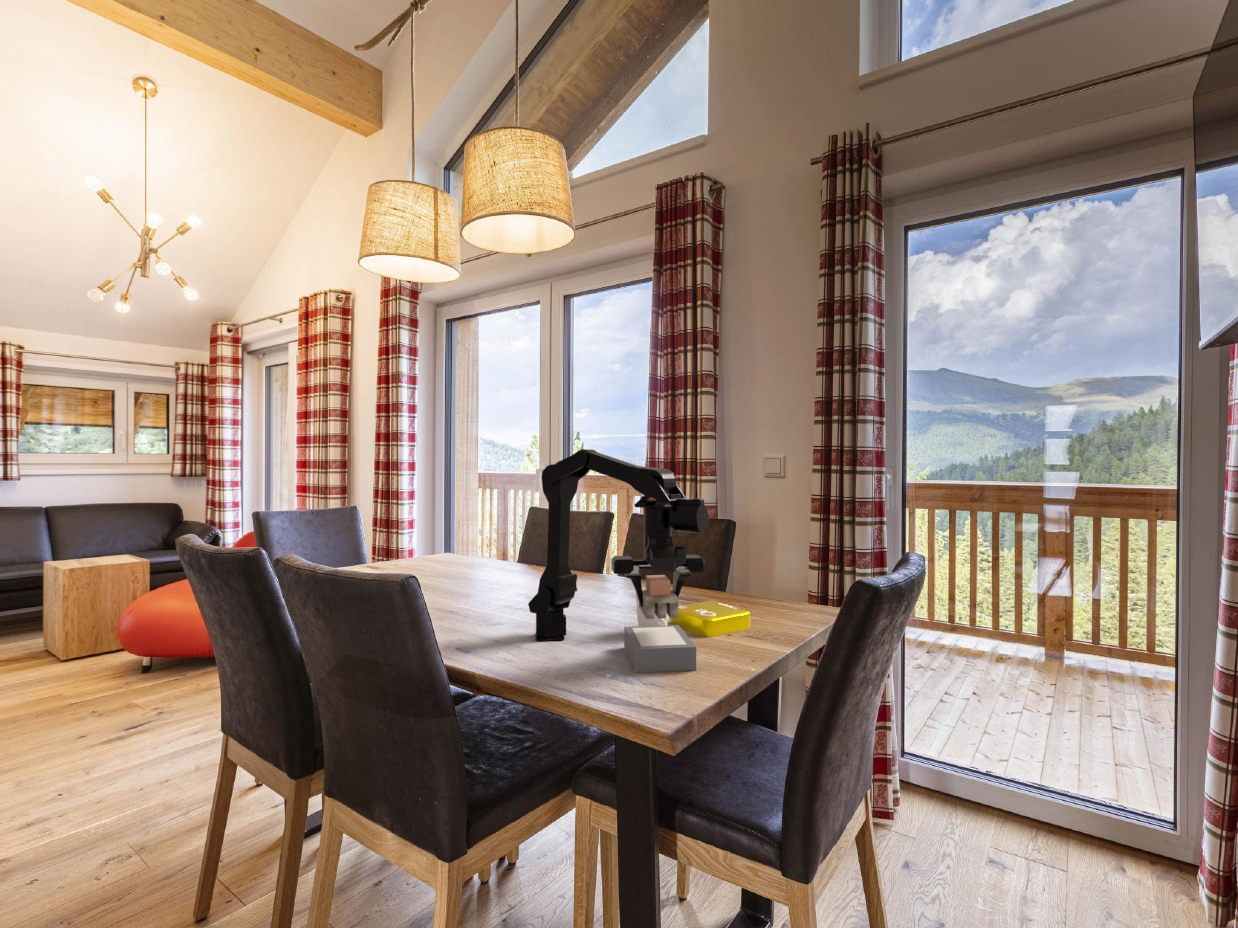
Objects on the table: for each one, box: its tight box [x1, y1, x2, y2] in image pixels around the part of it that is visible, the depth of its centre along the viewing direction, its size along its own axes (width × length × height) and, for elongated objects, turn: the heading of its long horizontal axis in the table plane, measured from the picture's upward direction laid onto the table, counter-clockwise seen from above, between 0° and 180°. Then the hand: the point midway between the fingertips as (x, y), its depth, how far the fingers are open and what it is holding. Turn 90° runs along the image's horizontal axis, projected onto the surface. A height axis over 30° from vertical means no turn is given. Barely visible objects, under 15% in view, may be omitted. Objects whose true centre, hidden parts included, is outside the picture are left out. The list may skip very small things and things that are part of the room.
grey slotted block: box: [639, 587, 679, 619], centre depth 127 cm, size 6×10×4 cm, turn 7°
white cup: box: [635, 593, 669, 626], centre depth 146 cm, size 8×8×10 cm
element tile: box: [670, 600, 751, 638], centre depth 152 cm, size 15×15×5 cm
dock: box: [623, 624, 697, 674], centre depth 128 cm, size 12×16×5 cm
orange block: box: [645, 574, 671, 596], centre depth 127 cm, size 4×6×3 cm, turn 7°
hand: (657, 605), depth 127 cm, fingers closed on grey slotted block, 6 cm apart
